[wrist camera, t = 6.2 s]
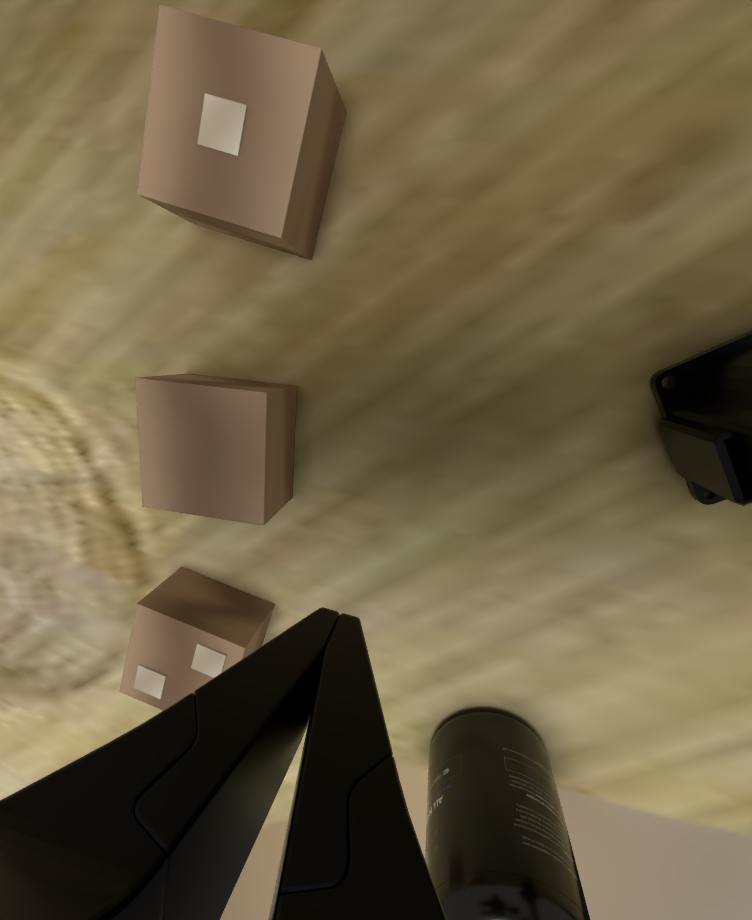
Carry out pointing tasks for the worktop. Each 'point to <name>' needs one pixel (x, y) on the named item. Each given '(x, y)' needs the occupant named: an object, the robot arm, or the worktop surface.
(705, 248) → the worktop surface
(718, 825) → the worktop surface
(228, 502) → the plain walnut block
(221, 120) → the one-pip walnut block
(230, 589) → the two-pip walnut block
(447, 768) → the supplement bottle
